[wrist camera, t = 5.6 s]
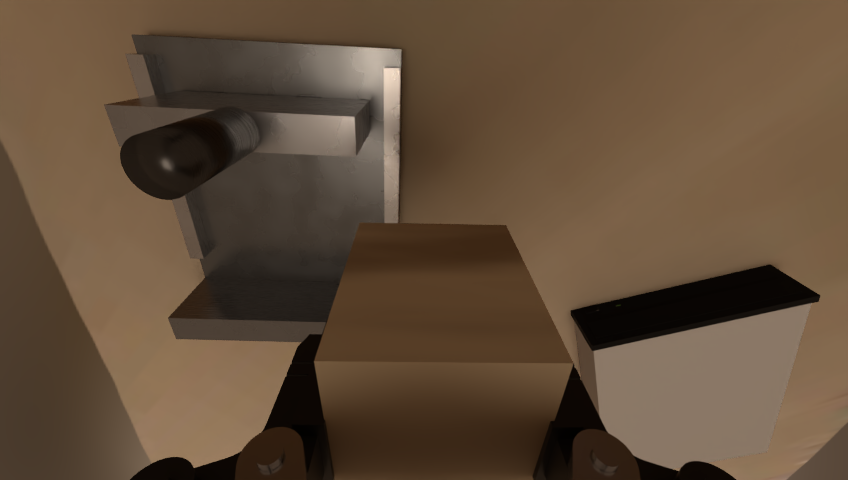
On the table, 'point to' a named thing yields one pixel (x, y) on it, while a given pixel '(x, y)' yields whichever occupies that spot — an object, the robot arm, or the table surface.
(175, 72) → the press
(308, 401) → the robot arm
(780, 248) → the table surface
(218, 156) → the jaw
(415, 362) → the maple block
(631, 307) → the disc drive
